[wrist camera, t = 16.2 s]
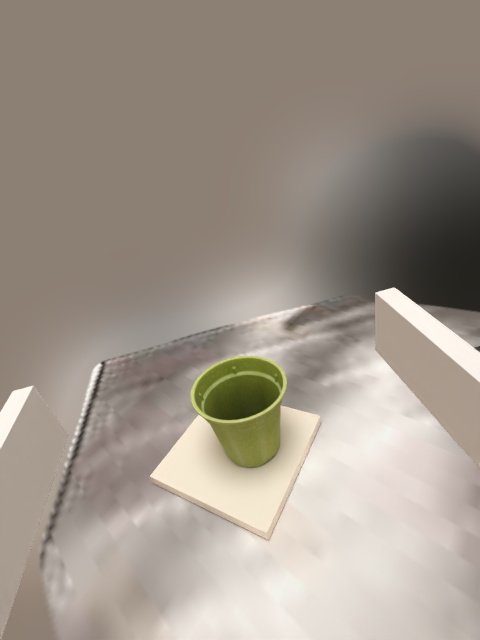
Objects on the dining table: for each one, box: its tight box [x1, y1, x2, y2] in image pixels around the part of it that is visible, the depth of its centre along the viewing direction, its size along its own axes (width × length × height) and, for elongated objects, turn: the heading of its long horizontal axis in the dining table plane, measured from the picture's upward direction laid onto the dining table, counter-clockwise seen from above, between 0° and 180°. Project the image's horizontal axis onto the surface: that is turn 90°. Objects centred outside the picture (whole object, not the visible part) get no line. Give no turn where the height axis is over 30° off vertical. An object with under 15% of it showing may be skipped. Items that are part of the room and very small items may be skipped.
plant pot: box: [191, 356, 287, 467], centre depth 36 cm, size 9×9×9 cm
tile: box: [150, 406, 321, 540], centre depth 39 cm, size 14×14×1 cm
